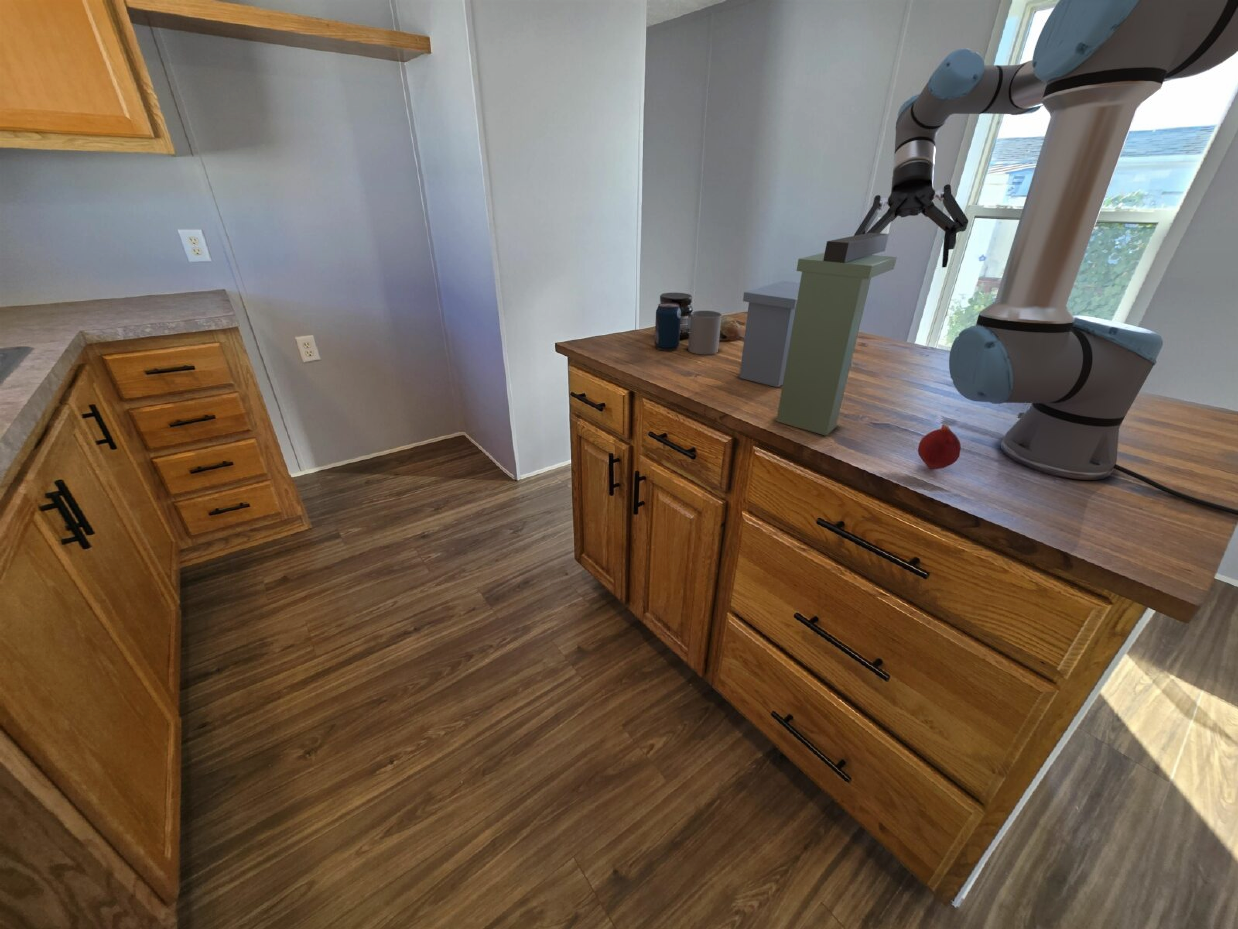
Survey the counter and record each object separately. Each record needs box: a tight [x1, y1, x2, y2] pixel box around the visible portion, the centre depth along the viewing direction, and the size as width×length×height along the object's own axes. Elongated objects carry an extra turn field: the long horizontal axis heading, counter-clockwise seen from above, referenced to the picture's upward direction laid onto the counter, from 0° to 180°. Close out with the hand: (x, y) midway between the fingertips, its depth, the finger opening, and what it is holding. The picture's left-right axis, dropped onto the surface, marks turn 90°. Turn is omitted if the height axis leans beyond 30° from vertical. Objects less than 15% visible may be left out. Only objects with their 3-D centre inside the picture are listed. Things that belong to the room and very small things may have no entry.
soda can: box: [654, 302, 681, 352], centre depth 141 cm, size 7×7×12 cm
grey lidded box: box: [738, 280, 800, 388], centre depth 120 cm, size 12×20×20 cm, turn 140°
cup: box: [687, 310, 723, 355], centre depth 140 cm, size 8×8×10 cm
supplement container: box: [659, 292, 694, 340], centre depth 152 cm, size 10×10×12 cm
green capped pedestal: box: [775, 252, 898, 437], centre depth 94 cm, size 12×14×30 cm
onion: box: [917, 423, 962, 471], centre depth 82 cm, size 6×6×8 cm
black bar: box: [823, 232, 890, 263], centre depth 89 cm, size 4×22×3 cm, turn 140°
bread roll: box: [719, 315, 741, 342], centre depth 153 cm, size 10×10×8 cm
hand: (905, 267), depth 103 cm, fingers open, 13 cm apart
